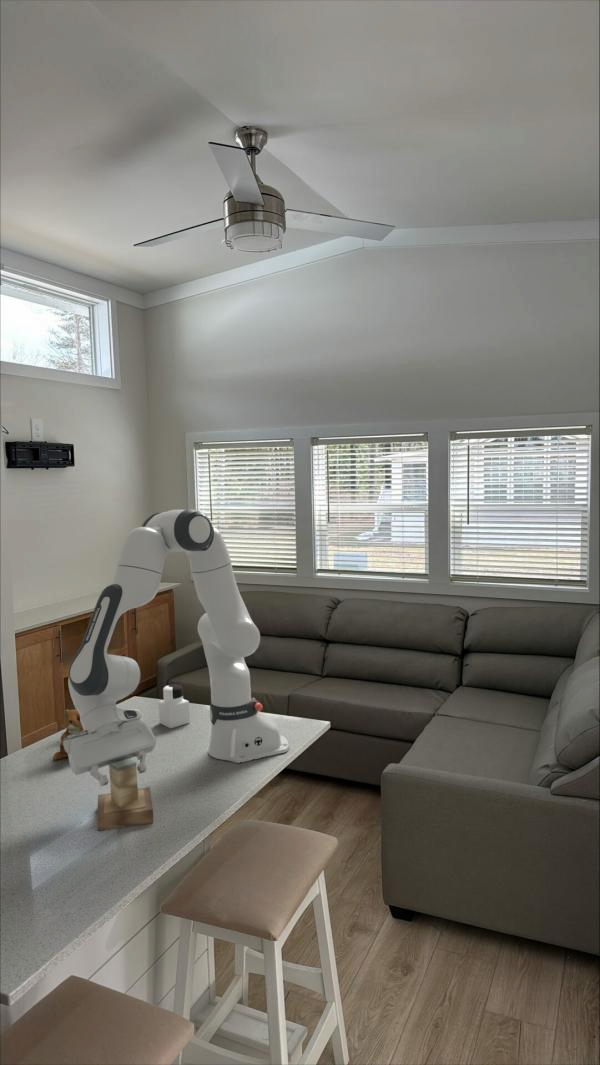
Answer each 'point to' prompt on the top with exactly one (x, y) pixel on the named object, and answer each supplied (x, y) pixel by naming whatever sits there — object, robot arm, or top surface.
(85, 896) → the top surface
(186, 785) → the top surface
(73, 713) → the stuffed squirrel
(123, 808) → the base slab
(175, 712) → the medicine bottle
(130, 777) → the tan tall block
